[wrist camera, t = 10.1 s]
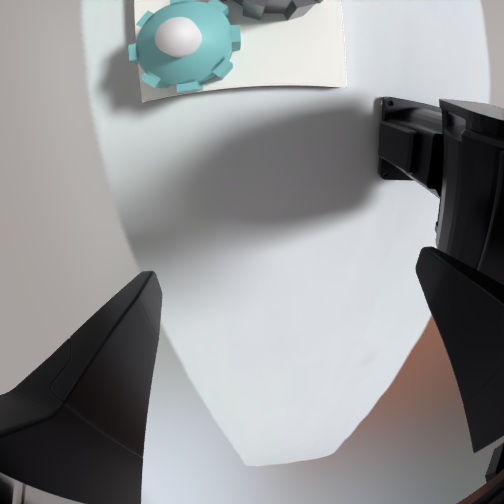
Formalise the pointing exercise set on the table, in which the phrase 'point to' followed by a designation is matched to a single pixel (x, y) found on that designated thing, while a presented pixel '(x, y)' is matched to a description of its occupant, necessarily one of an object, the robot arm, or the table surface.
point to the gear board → (234, 47)
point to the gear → (276, 7)
